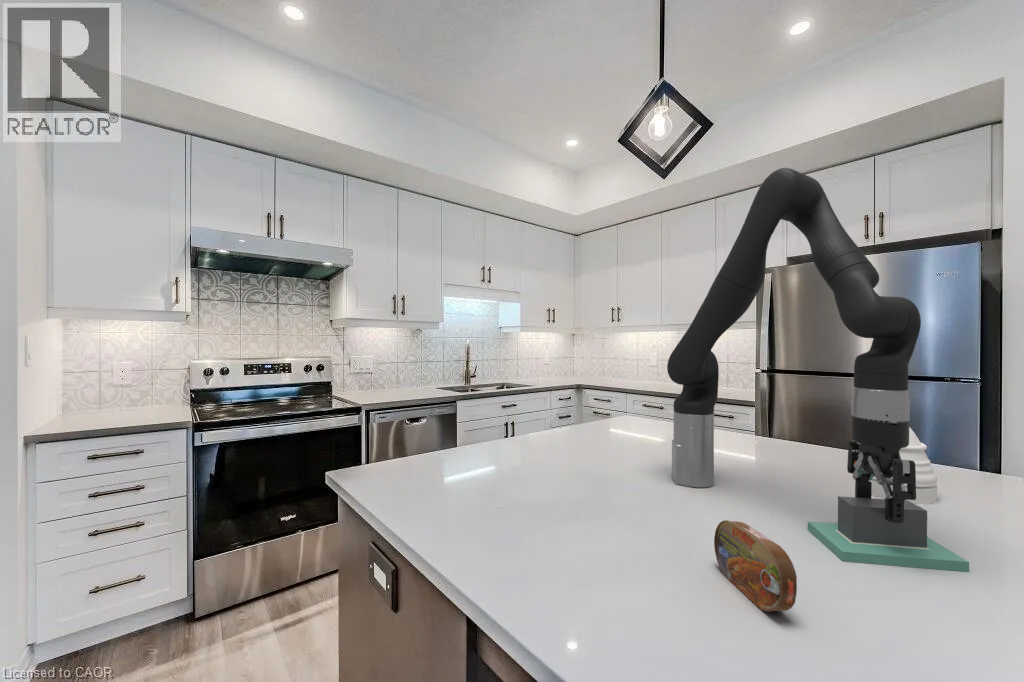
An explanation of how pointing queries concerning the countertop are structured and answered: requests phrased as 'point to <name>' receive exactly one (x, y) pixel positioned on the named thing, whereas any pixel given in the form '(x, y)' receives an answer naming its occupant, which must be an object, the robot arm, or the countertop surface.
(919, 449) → the honey pot
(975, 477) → the countertop surface
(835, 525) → the header board
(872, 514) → the block
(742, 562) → the tin
